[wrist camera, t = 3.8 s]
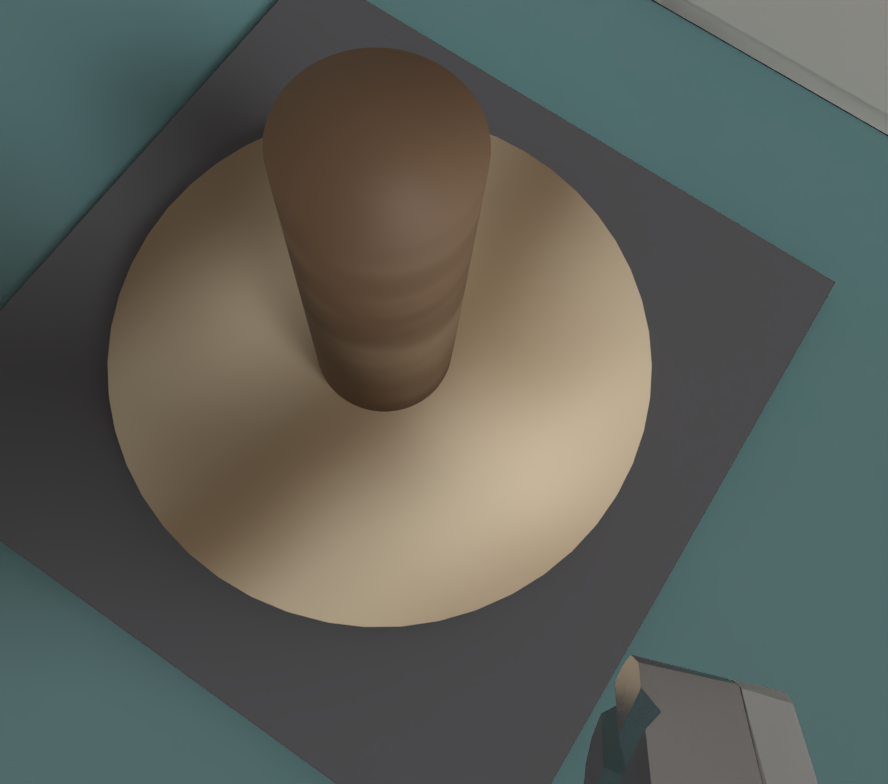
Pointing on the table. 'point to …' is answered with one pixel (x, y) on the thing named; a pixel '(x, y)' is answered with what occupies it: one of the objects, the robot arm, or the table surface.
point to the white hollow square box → (809, 45)
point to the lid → (379, 355)
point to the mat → (430, 644)
